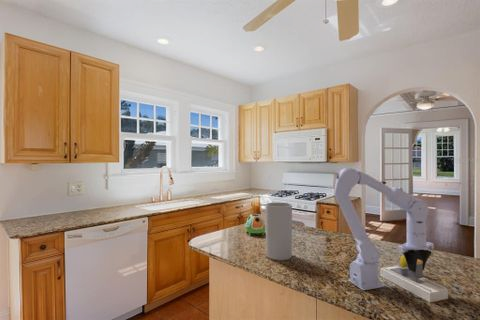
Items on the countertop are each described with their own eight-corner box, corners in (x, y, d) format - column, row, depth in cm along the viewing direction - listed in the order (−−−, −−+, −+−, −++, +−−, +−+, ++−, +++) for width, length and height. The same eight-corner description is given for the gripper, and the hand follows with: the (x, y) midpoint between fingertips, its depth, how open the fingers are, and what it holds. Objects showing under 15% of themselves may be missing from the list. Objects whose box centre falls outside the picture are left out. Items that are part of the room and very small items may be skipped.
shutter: (412, 274, 96) (412, 267, 96) (402, 276, 95) (402, 269, 95) (400, 269, 101) (400, 262, 101) (390, 270, 100) (390, 263, 100)
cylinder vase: (260, 256, 123) (260, 204, 124) (275, 249, 133) (275, 201, 133) (282, 263, 115) (282, 207, 115) (296, 255, 124) (296, 204, 124)
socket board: (447, 298, 85) (447, 287, 85) (429, 302, 83) (429, 290, 83) (396, 273, 105) (396, 264, 105) (380, 275, 102) (380, 266, 102)
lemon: (400, 268, 109) (400, 250, 109) (416, 272, 105) (416, 253, 105) (398, 273, 105) (398, 253, 105) (415, 277, 101) (415, 257, 101)
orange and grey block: (407, 275, 93) (407, 258, 94) (414, 273, 94) (414, 257, 94) (415, 278, 90) (415, 261, 90) (422, 277, 91) (422, 260, 91)
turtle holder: (259, 228, 175) (259, 211, 175) (267, 236, 157) (267, 216, 157) (242, 229, 172) (241, 211, 172) (248, 237, 154) (248, 217, 154)
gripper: (410, 237, 86) (410, 277, 86) (442, 233, 90) (442, 272, 90) (392, 231, 93) (393, 269, 93) (423, 228, 97) (423, 264, 97)
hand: (416, 270), depth 92 cm, fingers closed on orange and grey block, 3 cm apart
